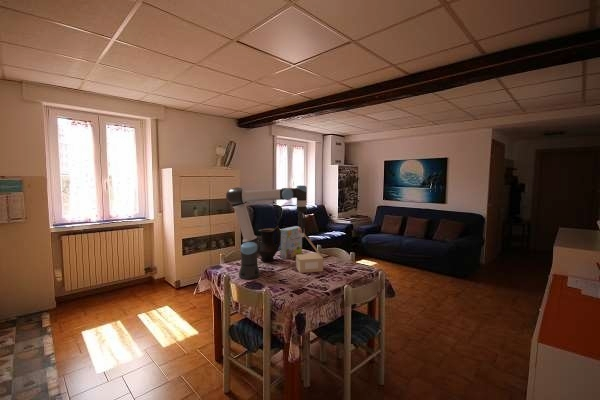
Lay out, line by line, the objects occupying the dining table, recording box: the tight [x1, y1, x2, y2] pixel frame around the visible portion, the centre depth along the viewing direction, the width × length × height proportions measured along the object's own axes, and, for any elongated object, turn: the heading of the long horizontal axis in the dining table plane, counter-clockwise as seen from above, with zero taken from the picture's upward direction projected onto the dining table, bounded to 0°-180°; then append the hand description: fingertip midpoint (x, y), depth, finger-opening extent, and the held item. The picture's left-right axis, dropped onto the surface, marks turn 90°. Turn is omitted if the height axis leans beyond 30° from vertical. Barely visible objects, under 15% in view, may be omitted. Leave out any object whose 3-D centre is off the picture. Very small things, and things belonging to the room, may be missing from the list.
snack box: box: [279, 225, 303, 260], centre depth 256 cm, size 22×9×26 cm, turn 143°
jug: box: [257, 226, 281, 263], centre depth 241 cm, size 21×18×30 cm
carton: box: [295, 252, 324, 274], centre depth 221 cm, size 18×14×10 cm
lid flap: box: [298, 227, 324, 258], centre depth 220 cm, size 27×13×4 cm
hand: (301, 236), depth 218 cm, fingers closed on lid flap, 5 cm apart
